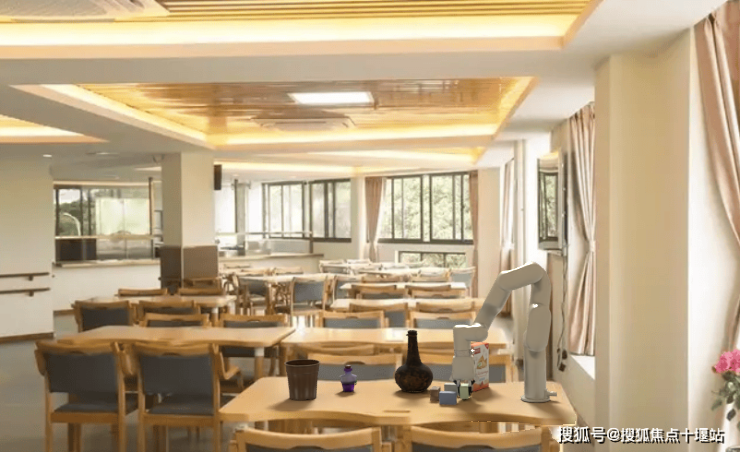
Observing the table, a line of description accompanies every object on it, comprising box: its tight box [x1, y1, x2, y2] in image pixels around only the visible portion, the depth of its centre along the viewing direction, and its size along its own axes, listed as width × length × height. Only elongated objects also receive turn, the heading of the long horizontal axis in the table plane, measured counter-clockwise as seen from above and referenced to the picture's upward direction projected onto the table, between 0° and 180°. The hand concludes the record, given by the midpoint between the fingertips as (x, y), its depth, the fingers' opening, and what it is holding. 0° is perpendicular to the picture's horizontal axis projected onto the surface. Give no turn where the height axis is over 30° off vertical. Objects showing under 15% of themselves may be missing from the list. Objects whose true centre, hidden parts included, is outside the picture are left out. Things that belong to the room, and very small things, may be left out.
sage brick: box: [459, 383, 471, 400], centre depth 366 cm, size 4×7×5 cm, turn 165°
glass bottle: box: [394, 329, 434, 393], centre depth 387 cm, size 18×18×28 cm
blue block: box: [438, 390, 458, 406], centre depth 359 cm, size 7×4×5 cm, turn 75°
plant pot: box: [283, 358, 321, 401], centre depth 376 cm, size 16×16×16 cm
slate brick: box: [443, 382, 462, 397], centre depth 376 cm, size 7×4×5 cm, turn 75°
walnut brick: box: [429, 385, 442, 402], centre depth 368 cm, size 4×7×5 cm, turn 165°
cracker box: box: [463, 341, 490, 392], centre depth 389 cm, size 14×6×21 cm, turn 143°
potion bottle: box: [339, 364, 358, 393], centre depth 389 cm, size 9×9×12 cm
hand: (465, 394), depth 366 cm, fingers closed on sage brick, 3 cm apart
